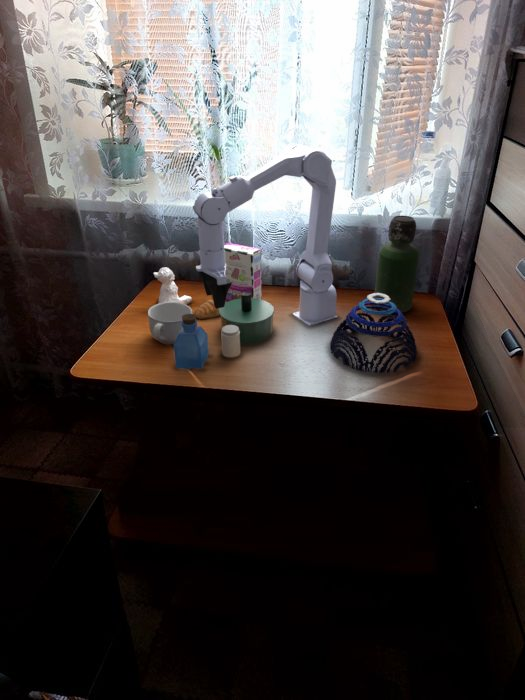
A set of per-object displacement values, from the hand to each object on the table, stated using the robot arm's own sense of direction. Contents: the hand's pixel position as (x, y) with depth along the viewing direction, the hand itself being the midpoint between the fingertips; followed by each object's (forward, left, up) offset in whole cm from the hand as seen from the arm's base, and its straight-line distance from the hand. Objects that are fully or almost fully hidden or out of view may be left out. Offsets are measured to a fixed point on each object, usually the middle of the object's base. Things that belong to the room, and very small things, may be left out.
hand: (215, 300), depth 131 cm
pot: (-8, +1, -10) cm, 13 cm away
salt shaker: (+1, +9, -10) cm, 14 cm away
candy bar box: (-15, -15, -11) cm, 23 cm away
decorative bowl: (-29, +25, -11) cm, 40 cm away
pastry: (-5, -13, -11) cm, 17 cm away
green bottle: (-50, +9, -11) cm, 52 cm away
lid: (-8, +1, -4) cm, 9 cm away
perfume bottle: (+10, +7, -11) cm, 16 cm away
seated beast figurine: (+3, -23, -11) cm, 25 cm away
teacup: (+11, -5, -11) cm, 16 cm away
